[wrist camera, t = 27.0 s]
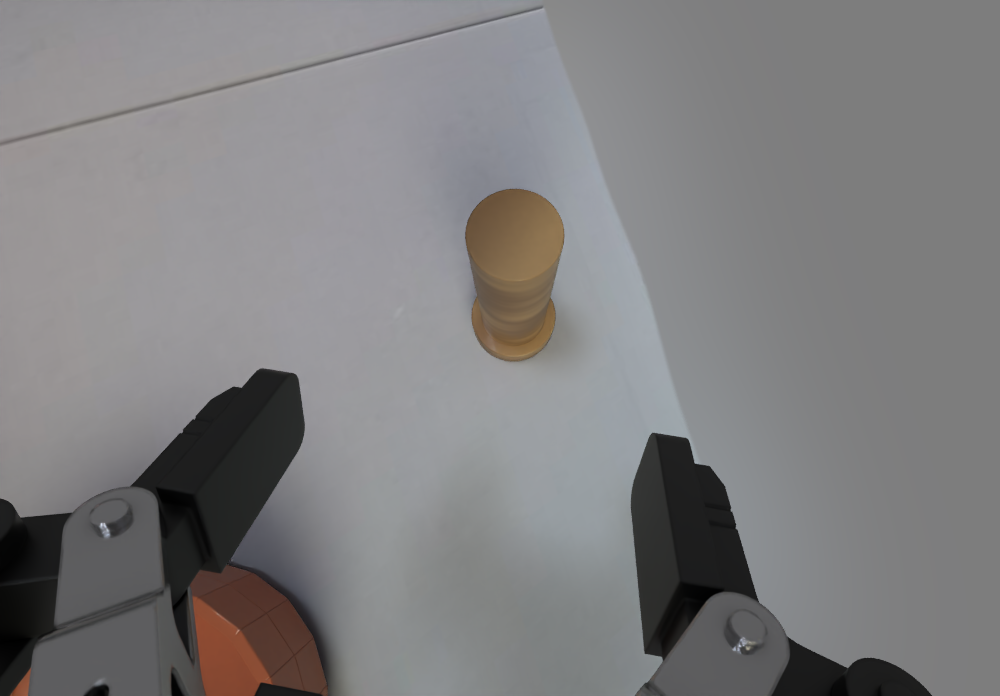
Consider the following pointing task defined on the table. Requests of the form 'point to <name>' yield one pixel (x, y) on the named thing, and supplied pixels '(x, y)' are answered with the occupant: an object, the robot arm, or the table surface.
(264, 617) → the bowl
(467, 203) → the table surface
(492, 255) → the wooden flanged peg
